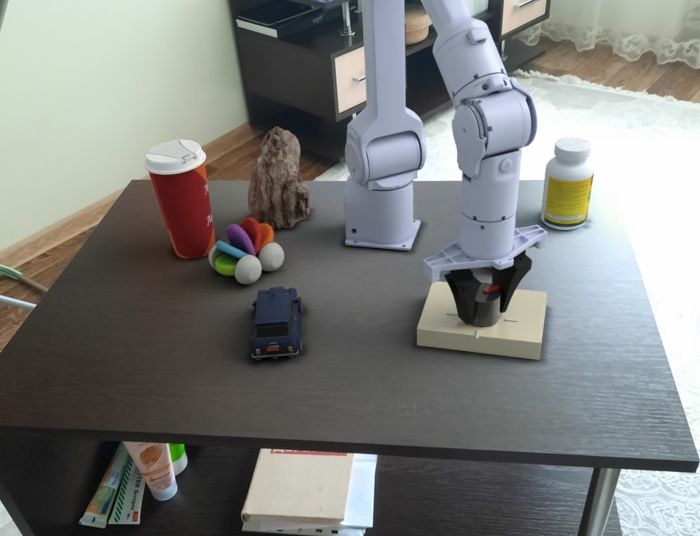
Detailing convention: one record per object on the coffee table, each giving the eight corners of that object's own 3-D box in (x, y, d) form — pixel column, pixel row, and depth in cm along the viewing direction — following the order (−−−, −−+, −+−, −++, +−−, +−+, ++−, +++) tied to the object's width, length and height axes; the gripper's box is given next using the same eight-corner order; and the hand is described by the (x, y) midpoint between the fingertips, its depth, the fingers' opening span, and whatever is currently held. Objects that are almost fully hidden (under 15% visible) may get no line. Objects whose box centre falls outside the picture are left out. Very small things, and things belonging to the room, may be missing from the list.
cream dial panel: (415, 348, 85) (415, 330, 83) (432, 296, 93) (432, 279, 91) (538, 363, 82) (541, 345, 80) (545, 308, 89) (547, 290, 88)
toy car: (302, 303, 94) (297, 266, 90) (301, 363, 84) (296, 325, 81) (256, 306, 94) (250, 270, 90) (250, 367, 84) (242, 329, 81)
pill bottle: (587, 233, 102) (599, 155, 95) (539, 231, 103) (548, 153, 96) (585, 210, 107) (597, 134, 100) (540, 208, 108) (548, 133, 101)
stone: (300, 116, 105) (232, 124, 105) (296, 132, 99) (224, 141, 99) (315, 211, 113) (252, 217, 114) (312, 231, 107) (245, 238, 107)
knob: (475, 331, 83) (477, 304, 80) (458, 312, 86) (459, 285, 83) (506, 321, 84) (508, 294, 81) (487, 303, 87) (489, 276, 84)
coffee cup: (235, 244, 106) (216, 147, 96) (190, 269, 102) (165, 169, 92) (199, 227, 111) (178, 132, 101) (155, 250, 106) (128, 153, 97)
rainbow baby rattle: (295, 264, 101) (289, 218, 96) (240, 296, 96) (231, 248, 91) (256, 244, 106) (248, 199, 101) (202, 273, 101) (191, 227, 96)
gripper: (446, 244, 71) (444, 352, 79) (570, 207, 75) (555, 313, 84) (412, 213, 76) (413, 318, 85) (530, 180, 80) (519, 283, 89)
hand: (481, 313), depth 84 cm, fingers closed on knob, 4 cm apart
